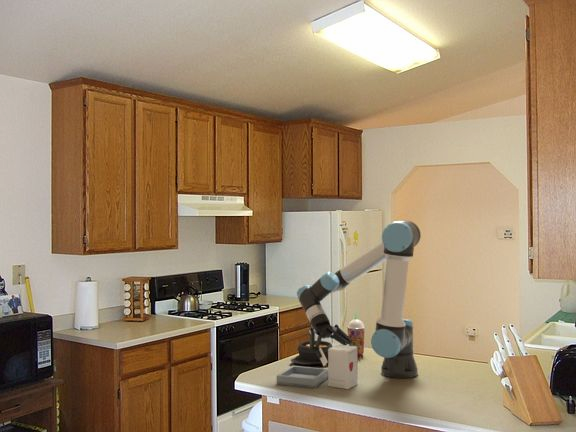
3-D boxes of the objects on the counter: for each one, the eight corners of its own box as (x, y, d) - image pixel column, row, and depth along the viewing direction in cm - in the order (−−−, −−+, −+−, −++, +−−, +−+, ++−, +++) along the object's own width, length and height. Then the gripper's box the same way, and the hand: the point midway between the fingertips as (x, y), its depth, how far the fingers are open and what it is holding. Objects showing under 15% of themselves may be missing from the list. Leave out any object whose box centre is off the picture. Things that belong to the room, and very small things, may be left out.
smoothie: (347, 357, 279) (346, 314, 279) (348, 353, 287) (347, 311, 287) (365, 357, 278) (364, 315, 277) (365, 353, 286) (365, 312, 286)
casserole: (310, 371, 256) (309, 351, 256) (281, 363, 270) (281, 345, 270) (349, 360, 273) (348, 342, 273) (320, 354, 287) (320, 336, 287)
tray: (329, 377, 246) (329, 369, 246) (315, 388, 231) (315, 379, 231) (292, 373, 252) (292, 365, 252) (276, 384, 237) (276, 375, 237)
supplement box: (348, 389, 228) (347, 351, 228) (327, 386, 233) (327, 348, 233) (358, 383, 236) (358, 346, 236) (338, 380, 241) (337, 343, 241)
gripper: (338, 320, 257) (360, 362, 244) (289, 327, 244) (310, 371, 231) (345, 309, 252) (368, 352, 240) (296, 316, 239) (317, 360, 227)
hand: (339, 361), depth 235 cm, fingers open, 13 cm apart
